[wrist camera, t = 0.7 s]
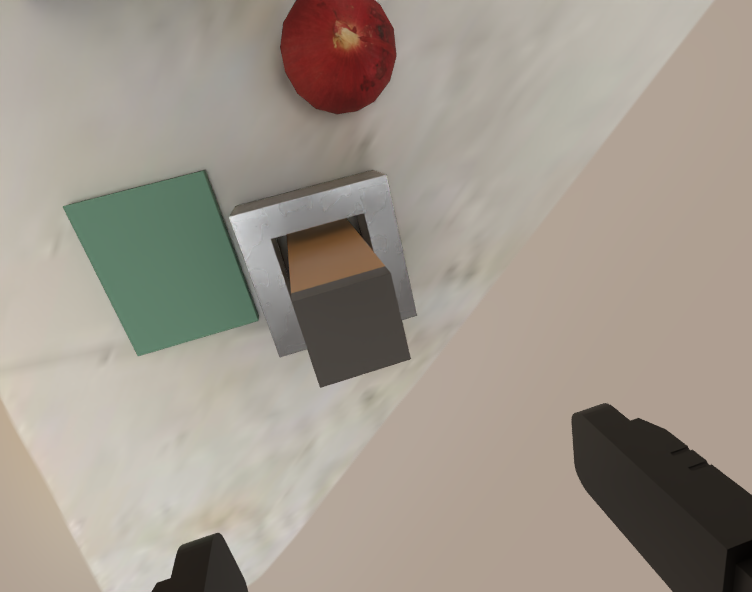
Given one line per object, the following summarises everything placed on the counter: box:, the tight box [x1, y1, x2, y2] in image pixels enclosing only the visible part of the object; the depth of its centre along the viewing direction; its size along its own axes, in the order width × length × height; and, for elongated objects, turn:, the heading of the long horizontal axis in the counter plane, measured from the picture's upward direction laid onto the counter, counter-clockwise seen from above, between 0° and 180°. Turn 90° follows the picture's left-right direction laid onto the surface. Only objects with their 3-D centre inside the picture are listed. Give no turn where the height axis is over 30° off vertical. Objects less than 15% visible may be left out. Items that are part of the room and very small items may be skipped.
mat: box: [63, 170, 259, 356], centre depth 28 cm, size 10×8×1 cm
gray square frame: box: [229, 170, 417, 357], centre depth 28 cm, size 9×9×4 cm
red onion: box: [280, 0, 396, 114], centre depth 22 cm, size 6×6×8 cm
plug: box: [287, 218, 411, 388], centre depth 24 cm, size 4×4×13 cm
